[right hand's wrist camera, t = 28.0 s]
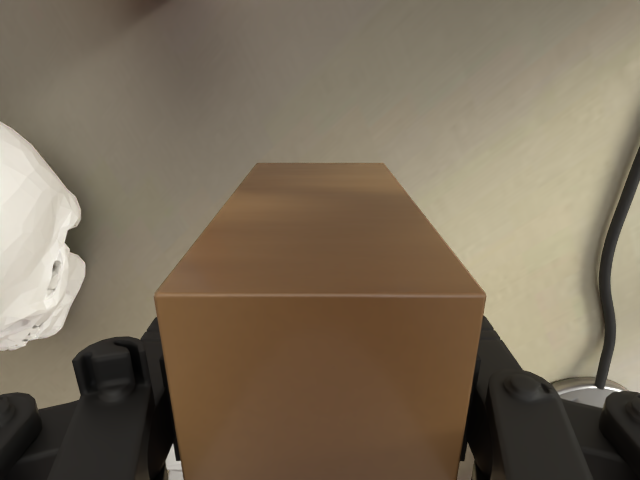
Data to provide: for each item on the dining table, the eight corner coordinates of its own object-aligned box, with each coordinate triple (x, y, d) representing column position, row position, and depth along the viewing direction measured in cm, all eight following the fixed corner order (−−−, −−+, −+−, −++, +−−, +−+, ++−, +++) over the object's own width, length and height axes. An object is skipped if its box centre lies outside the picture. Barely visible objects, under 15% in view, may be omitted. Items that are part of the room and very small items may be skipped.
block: (264, 319, 18) (201, 593, 8) (255, 162, 16) (151, 293, 6) (375, 319, 18) (439, 593, 8) (384, 162, 16) (488, 293, 6)
